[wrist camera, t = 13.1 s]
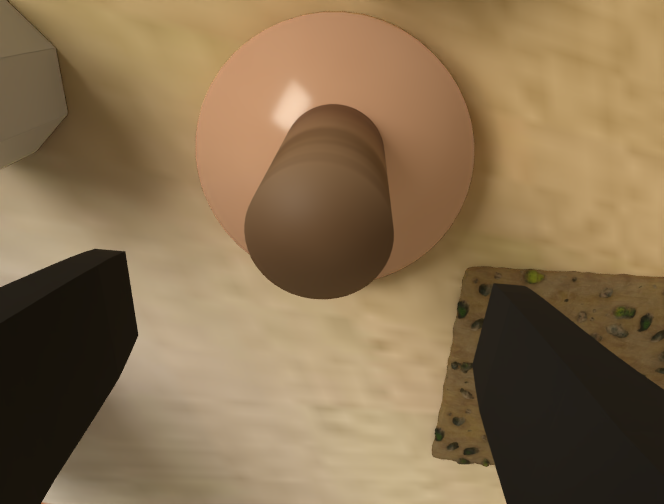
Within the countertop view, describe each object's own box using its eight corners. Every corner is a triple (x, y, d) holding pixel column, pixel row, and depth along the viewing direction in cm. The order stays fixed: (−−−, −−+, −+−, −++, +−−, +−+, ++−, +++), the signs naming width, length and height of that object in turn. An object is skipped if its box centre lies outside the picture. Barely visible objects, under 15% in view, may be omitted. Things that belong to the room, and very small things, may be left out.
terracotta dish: (443, 279, 21) (447, 294, 20) (212, 259, 21) (203, 273, 20) (494, 22, 16) (504, 24, 15) (196, 0, 16) (184, 1, 15)
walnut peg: (387, 198, 18) (397, 295, 12) (291, 205, 19) (258, 302, 13) (381, 98, 16) (389, 157, 11) (276, 109, 17) (230, 171, 11)
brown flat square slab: (656, 468, 26) (665, 484, 25) (427, 451, 27) (429, 466, 26) (754, 276, 20) (771, 288, 20) (461, 259, 21) (465, 271, 20)
